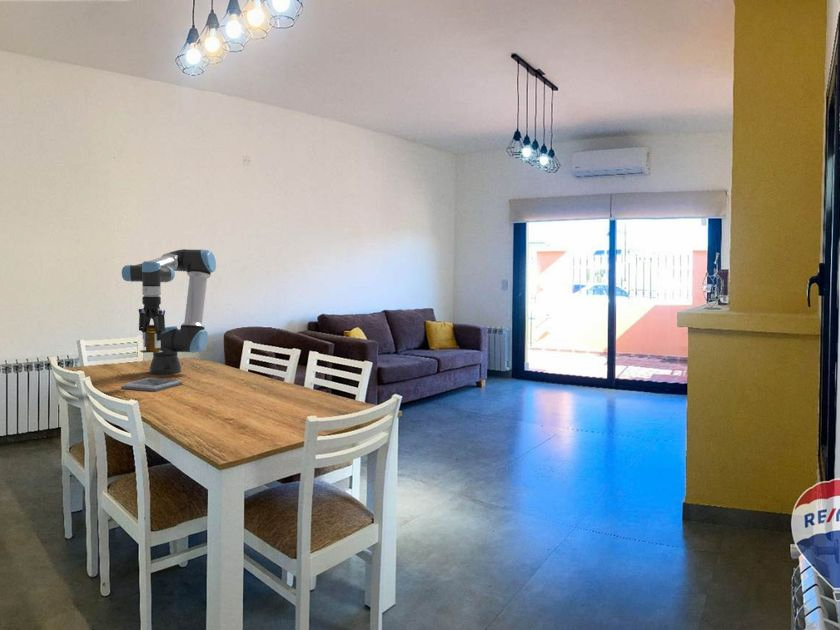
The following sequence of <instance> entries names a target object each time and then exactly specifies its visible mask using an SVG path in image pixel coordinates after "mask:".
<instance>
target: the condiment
mask: <svg viewBox="0 0 840 630" xmlns="http://www.w3.org/2000/svg"><path fill="white" fill-rule="evenodd" d="M155 332H156V330H155V326H154V324H149V325H147V331H146V347H145V350H139V352H140V353H143V354H145V353H146V354H147V353H153V352H163V351H160V348H155Z"/></svg>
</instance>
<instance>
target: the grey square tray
mask: <svg viewBox="0 0 840 630" xmlns="http://www.w3.org/2000/svg"><path fill="white" fill-rule="evenodd" d="M183 383H184V382H181V381H180V380H179V379H171V378H159V377H146V378H141V379H139V380H134V381H130V382H126V383H124V385H121V387H120V388H121V389H124V390H131V391H132V390H133V391H140V392H141V391H142V392H151V391H153V392H154V393H155V392H160V391H163V390H167V389H171V388H174V387H178V386H183Z"/></svg>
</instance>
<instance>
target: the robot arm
mask: <svg viewBox="0 0 840 630" xmlns="http://www.w3.org/2000/svg"><path fill="white" fill-rule="evenodd" d="M216 269H217V262H216V258H215V254H214V253H213V251H211V250H209V249H184V248H182V249H178V250H173V251H170V252H167V253H164V254H162V255H161V257H158V258H155V259H151V260H148V261H147V260H146V261H145V260H144V261H143V262H141V263H139V264H134V265H133V264H127V265H124V266H123V267H122V269H121V277H122V279H123V280H124V281H126V282H130V283H132V282H134V283H135V282H136V283H138V282H141V283H142V286H141V287H142V290H141V291H142V292H141V293H142V297H141V298H142V301H141V302H142V305H143V308H139V309H138V331H140V332H142V340H143V346H142V347H143V348H146V331H147V325H151V320H152V321H153V322H152V323H153V325H154V326H155V330H156V332H155V348H160V351H163V352H152V359H151V363H150V367H149V373H150V374H153V375H169V374H176V373H181V372H182V365H181V363H180V359H179V357H178V353H191V354H192V353H193V354H195V353H202V352H203V351H205V349H206V348H207V345H208V342H209V333H208V331H207V330H206V329H205V325H203V318H204V309H205V298H206V290H207V283H208V279H209V278H210V277H211V275H212V274H211V273H214V272H215V271H216ZM176 272H185V273H186V275H187V276H188V277H189V279H188V287H187V296H186V306H185V312H184V322H183V323H182V324H180V329H179V328H178V326H176V325H173V326H166V323H165V322H166V321H165V315H166V310H165V309H161V307H160V305H161V304H162V303H161V302H162V301H161V300H162V299H161V298H162V297H161V293H162V291H161V290H162V289H161V283H169V282H172V281H173V280H174V279H175V275H176V274H175V273H176Z"/></svg>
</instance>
